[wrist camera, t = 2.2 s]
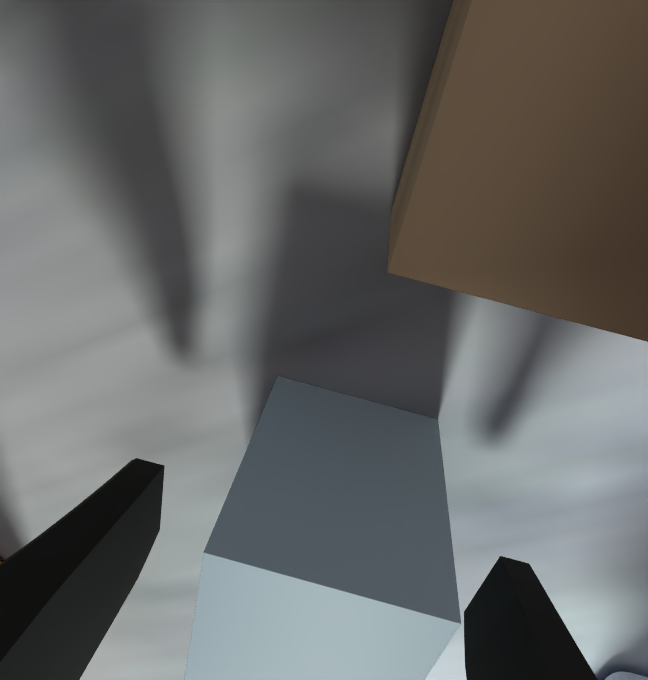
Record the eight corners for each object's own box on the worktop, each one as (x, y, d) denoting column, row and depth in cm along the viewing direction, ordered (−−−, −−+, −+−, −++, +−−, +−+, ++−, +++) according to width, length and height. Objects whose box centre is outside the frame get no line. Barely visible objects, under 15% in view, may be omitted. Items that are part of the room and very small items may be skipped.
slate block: (437, 418, 11) (461, 624, 7) (390, 526, 13) (385, 739, 9) (278, 375, 12) (203, 553, 7) (253, 489, 13) (183, 682, 9)
